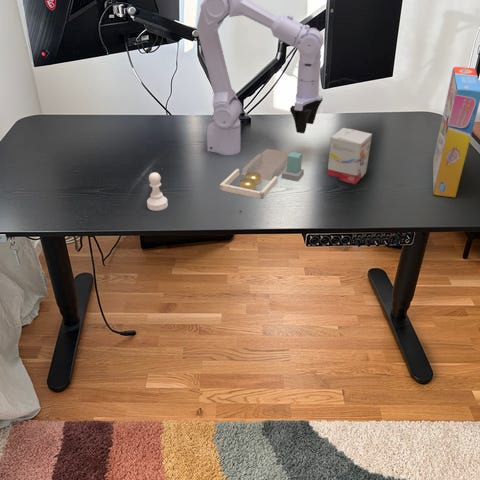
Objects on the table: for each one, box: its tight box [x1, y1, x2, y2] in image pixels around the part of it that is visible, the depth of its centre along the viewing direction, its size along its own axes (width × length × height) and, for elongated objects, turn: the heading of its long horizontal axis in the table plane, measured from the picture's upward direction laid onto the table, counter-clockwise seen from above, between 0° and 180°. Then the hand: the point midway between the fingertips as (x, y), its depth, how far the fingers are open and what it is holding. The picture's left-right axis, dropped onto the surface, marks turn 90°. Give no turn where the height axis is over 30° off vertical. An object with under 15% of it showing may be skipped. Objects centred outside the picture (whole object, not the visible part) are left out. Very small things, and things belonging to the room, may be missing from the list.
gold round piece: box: [239, 177, 256, 191], centre depth 133 cm, size 4×4×2 cm
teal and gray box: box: [281, 151, 305, 182], centre depth 138 cm, size 5×4×7 cm
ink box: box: [326, 127, 373, 185], centre depth 139 cm, size 9×9×12 cm
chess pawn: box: [146, 171, 169, 212], centre depth 125 cm, size 5×5×9 cm
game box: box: [432, 66, 480, 198], centre depth 132 cm, size 21×6×27 cm, turn 163°
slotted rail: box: [239, 148, 291, 182], centre depth 145 cm, size 10×19×3 cm, turn 155°
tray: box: [219, 168, 279, 200], centre depth 134 cm, size 12×10×2 cm
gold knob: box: [244, 172, 262, 186], centre depth 136 cm, size 4×4×2 cm
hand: (305, 127), depth 144 cm, fingers open, 7 cm apart
